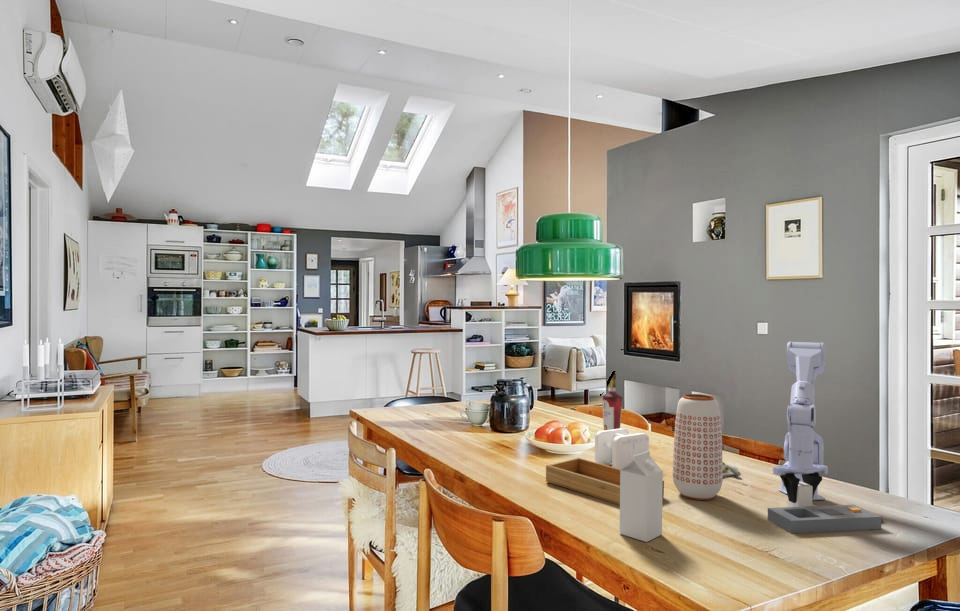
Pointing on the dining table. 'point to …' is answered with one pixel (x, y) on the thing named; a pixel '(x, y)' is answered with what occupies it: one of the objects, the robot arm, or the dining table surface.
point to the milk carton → (641, 498)
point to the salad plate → (729, 470)
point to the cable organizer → (619, 447)
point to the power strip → (824, 518)
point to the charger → (803, 496)
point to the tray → (587, 478)
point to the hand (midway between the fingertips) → (800, 501)
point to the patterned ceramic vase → (698, 447)
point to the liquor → (612, 407)
